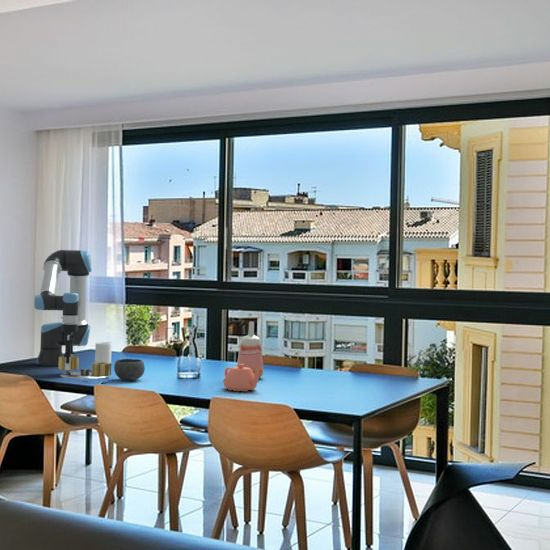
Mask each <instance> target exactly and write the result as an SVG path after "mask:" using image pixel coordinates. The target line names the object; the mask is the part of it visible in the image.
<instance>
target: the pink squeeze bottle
mask: <svg viewBox="0 0 550 550" xmlns="http://www.w3.org/2000/svg"><path fill="white" fill-rule="evenodd" d="M239 345H240V346H239V350H238V357H237V362H236V367H238V364H244V367H248V368H250V369H251V370H252V372H253V373H254V375H255V371H256V369H257V368H261V367H262V368H261V369H260V371H259V377H260V378H261V376H262V377H263V376H264V361H263V351H262V341H261V338H260V337H259V336H257V335H255V322H254V321H249V322H248V333H247V335H244V336H243V337H242V338H241V340H240V344H239Z"/></svg>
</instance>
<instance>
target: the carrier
mask: <svg viewBox="0 0 550 550" xmlns="http://www.w3.org/2000/svg"><path fill="white" fill-rule="evenodd" d="M59 376H60V377H62V378H66V379H82V380H81V381H82V382H81V383H83V382H84V383H85V382H86V383H89V382H88V381H89V379H90V380H91V379H102V378H106V377H108V380H109V379H110V377H109V376H104V377H101V376H92V375H91V371H90V368H86V367H85V368H80V371H71V375H66V372H64V373H60V375H59ZM83 379H84V380H83ZM85 379H88V380H85Z"/></svg>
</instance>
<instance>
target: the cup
mask: <svg viewBox="0 0 550 550" xmlns="http://www.w3.org/2000/svg"><path fill="white" fill-rule="evenodd" d="M112 345H113V344H112V342H108V341H107V342H106V341H105V342H104V341H101V342H100V341H99V342H98V341H97V342H95V349H94V353H95V355H94V362H108V363H111V364H112Z"/></svg>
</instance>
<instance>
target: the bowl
mask: <svg viewBox="0 0 550 550" xmlns="http://www.w3.org/2000/svg"><path fill="white" fill-rule="evenodd" d="M113 369H114V374H115V375H116V376H117V377H118V378H119V379H120V380H123V381H125V382H126V381H127V382H128V381H129V382H132V381H133V382H134V381H136V380H139V379H140V378H141V377H143V375H144V373H145V371H146V370H145V369H146V368H145V363H144V361H143V360H142V359H140V358H139V359H138V358H121V359H116V361H115V362H114V367H113Z"/></svg>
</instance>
